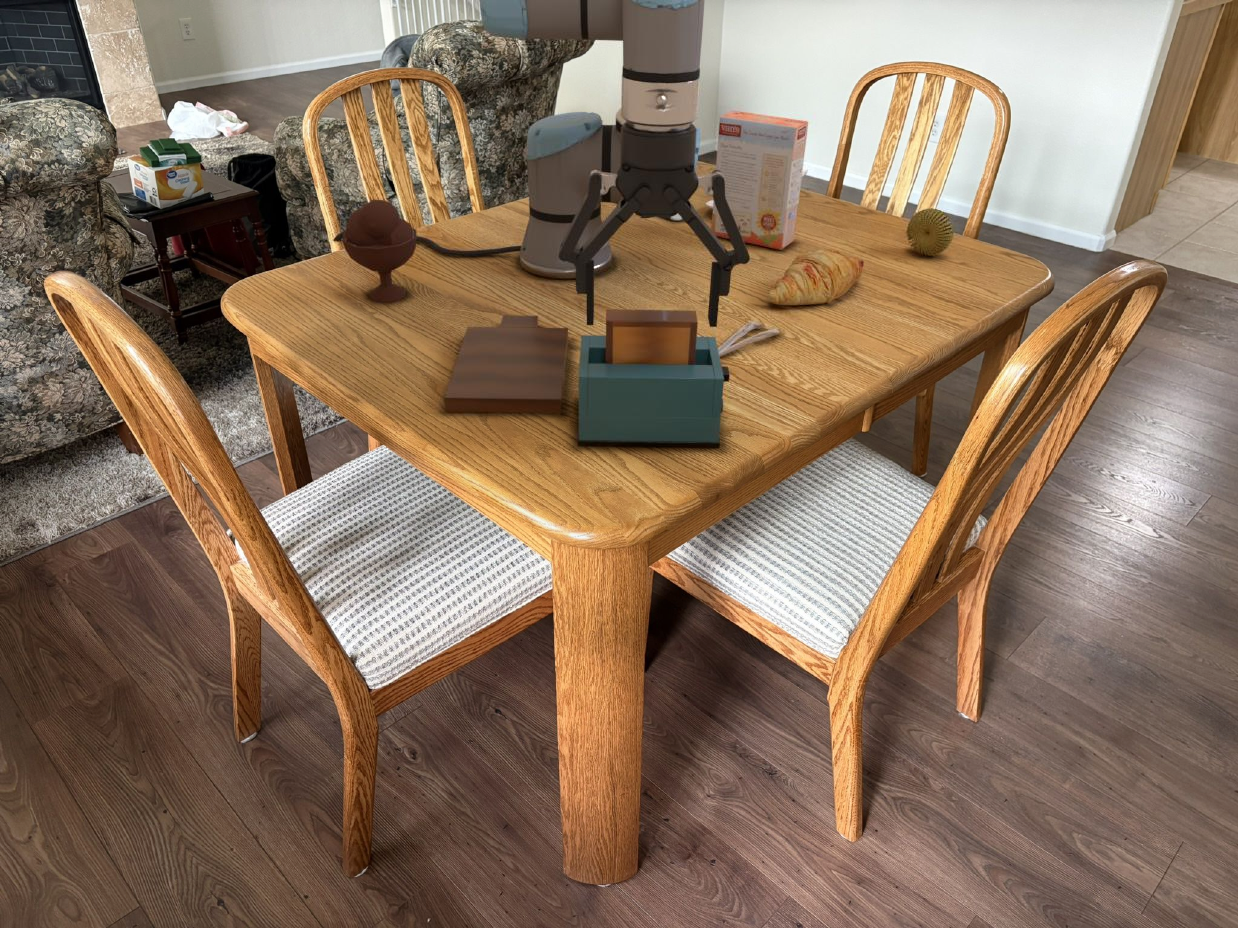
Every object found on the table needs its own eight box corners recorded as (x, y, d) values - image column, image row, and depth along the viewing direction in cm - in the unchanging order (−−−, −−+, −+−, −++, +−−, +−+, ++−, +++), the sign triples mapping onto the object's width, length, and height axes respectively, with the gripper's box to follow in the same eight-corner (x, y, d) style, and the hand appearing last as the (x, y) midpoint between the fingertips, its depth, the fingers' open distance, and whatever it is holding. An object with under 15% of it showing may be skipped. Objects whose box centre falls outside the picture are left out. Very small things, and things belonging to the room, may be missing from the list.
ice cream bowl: (437, 288, 141) (428, 193, 133) (394, 315, 133) (380, 214, 124) (382, 276, 145) (369, 182, 136) (336, 301, 136) (319, 203, 128)
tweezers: (754, 326, 131) (755, 314, 130) (781, 337, 129) (782, 324, 128) (676, 373, 121) (676, 360, 120) (703, 385, 119) (704, 372, 118)
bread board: (560, 413, 110) (560, 399, 109) (445, 412, 110) (444, 397, 109) (569, 328, 130) (569, 315, 129) (472, 327, 130) (471, 314, 129)
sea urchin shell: (951, 257, 156) (962, 212, 152) (941, 263, 154) (952, 217, 149) (909, 246, 160) (918, 201, 156) (898, 251, 158) (907, 206, 154)
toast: (605, 400, 105) (605, 320, 99) (605, 387, 107) (606, 309, 102) (692, 401, 105) (697, 321, 99) (690, 388, 107) (695, 310, 102)
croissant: (781, 336, 137) (805, 300, 130) (740, 288, 140) (762, 252, 133) (867, 298, 148) (894, 264, 142) (828, 255, 151) (852, 220, 144)
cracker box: (794, 242, 161) (810, 120, 150) (781, 252, 157) (796, 127, 145) (724, 226, 167) (734, 108, 156) (709, 236, 163) (718, 115, 152)
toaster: (577, 446, 104) (576, 377, 99) (580, 400, 113) (579, 334, 108) (728, 448, 104) (735, 379, 99) (719, 401, 113) (725, 336, 108)
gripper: (529, 129, 86) (536, 333, 97) (791, 134, 86) (767, 337, 98) (535, 112, 92) (541, 306, 104) (779, 116, 92) (758, 309, 104)
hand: (651, 321), depth 101 cm, fingers open, 13 cm apart
